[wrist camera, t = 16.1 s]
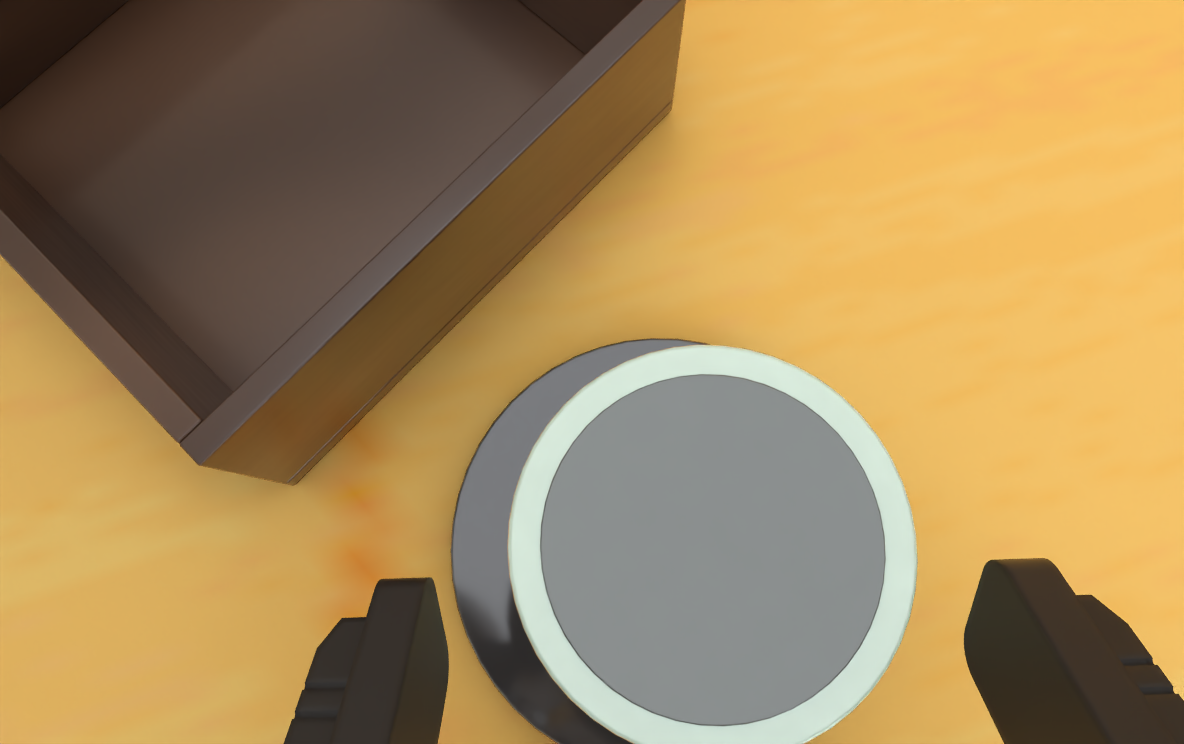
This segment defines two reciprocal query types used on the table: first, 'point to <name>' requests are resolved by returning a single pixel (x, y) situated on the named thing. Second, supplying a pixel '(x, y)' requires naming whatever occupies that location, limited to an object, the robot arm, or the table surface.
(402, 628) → the robot arm
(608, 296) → the table surface
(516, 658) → the coaster
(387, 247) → the open box
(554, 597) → the tumbler
